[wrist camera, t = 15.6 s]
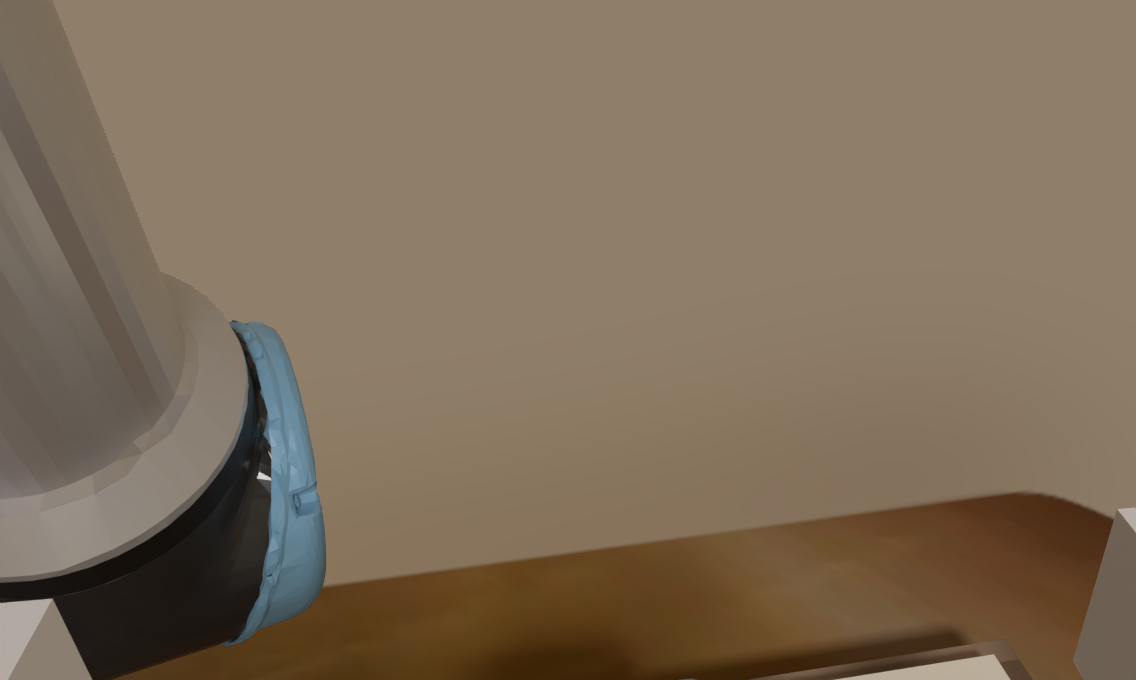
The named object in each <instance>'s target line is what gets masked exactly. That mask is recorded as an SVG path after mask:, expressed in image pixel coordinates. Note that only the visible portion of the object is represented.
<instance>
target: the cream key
mask: <svg viewBox="0 0 1136 680" xmlns="http://www.w3.org/2000/svg"><path fill="white" fill-rule="evenodd" d="M836 680H1010V678H1009V677H1008V675H1007V674H1006V672H1005V671H1004V669H1003V668H1002V666H1001V664H1000V663H999V661H998V660H997V658H996V657H995V655H994V654H993V655H986V656H980V657H974V658H967V659H961V660H955V661H949V662H942V663H936V664H930V665H924V666H917V667H911V668H905V669H899V670H892V671H886V672H880V673H873V674H867V675H861V676H855V677H848V678H842V679H836Z"/></svg>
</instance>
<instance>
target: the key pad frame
mask: <svg viewBox="0 0 1136 680" xmlns="http://www.w3.org/2000/svg"><path fill="white" fill-rule="evenodd" d="M993 654H994V655H995V657H996V658H997V660H998V661H999V663H1000V664H1001V666H1002V668H1003V669H1004V671H1005V672H1006V674H1007V675H1008V677H1009V678H1010V680H1032V678H1031V677H1030V675H1029V674H1028V672H1027V671H1026V669H1025V668H1024V666H1023V665H1022V663H1021V662H1020V660H1019V659H1018V657H1017V656H1016V654H1015V653H1014V651H1013V650H1012V648H1011V647H1010V645H1009V644H1008V642H1007V641H1006V639H1001V640H995V641H988V642H982V643H976V644H969V645H963V646H957V647H951V648H944V649H938V650H932V651H925V652H919V653H913V654H906V655H900V656H894V657H887V658H881V659H875V660H869V661H862V662H856V663H850V664H843V665H837V666H831V667H824V668H818V669H812V670H805V671H799V672H793V673H787V674H780V675H774V676H768V677H761V678H755V679H749V680H836V679H842V678H848V677H855V676H861V675H867V674H873V673H880V672H886V671H892V670H899V669H905V668H911V667H917V666H924V665H930V664H936V663H942V662H949V661H955V660H961V659H967V658H974V657H980V656H986V655H993Z"/></svg>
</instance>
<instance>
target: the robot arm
mask: <svg viewBox="0 0 1136 680" xmlns="http://www.w3.org/2000/svg"><path fill="white" fill-rule="evenodd" d="M316 486H317V481H316V472H315V461H314V455H313V450H312V445H311V440H310V435H309V431H308V426H307V421H306V416H305V412H304V408H303V404H302V400H301V396H300V392H299V388H298V385H297V381H296V377H295V374H294V371H293V368H292V365H291V361H290V358H289V355H288V353H287V350H286V348H285V345H284V343H283V341H282V339H281V338H280V336H279V335H278V333H277V332H276V330H274V329H273V328H271V327H269V326H266V325H264V324H262V323H260V322H250V323H241V322H238V321H234V320H233V321H232V322H228V321H227V320H226V318H225V317H224V315H223V314H222V312H221V311H220V309H218V308H217V307H216V306H215V305H214V304H213V303H212V302H211V301H210V300H209V299H208V298H207V297H206V296H205V295H203V294H202V293H200V292H199V291H197V290H196V289H194V288H193V287H192V286H190V285H188V284H186V283H184V282H182V281H181V280H179V279H176V278H175V277H173V276H170V275H168V274H165V273H162V272H160V271H159V268H158V265H157V263H156V260H155V258H154V255H153V253H152V250H151V248H150V245H149V243H148V240H147V238H146V235H145V233H144V231H143V228H142V225H141V223H140V220H139V217H138V215H137V212H136V210H135V207H134V205H133V202H132V200H131V198H130V195H129V192H128V190H127V187H126V185H125V182H124V180H123V177H122V175H121V172H120V170H119V167H118V165H117V162H116V159H115V157H114V154H113V152H112V150H111V147H110V145H109V142H108V140H107V137H106V134H105V132H104V129H103V127H102V124H101V122H100V119H99V117H98V114H97V112H96V109H95V107H94V104H93V102H92V99H91V96H90V94H89V91H88V89H87V86H86V84H85V81H84V79H83V76H82V74H81V71H80V69H79V66H78V64H77V61H76V59H75V56H74V54H73V51H72V49H71V46H70V44H69V41H68V38H67V36H66V33H65V31H64V28H63V26H62V24H61V21H60V18H59V16H58V13H57V11H56V8H55V6H54V3H53V1H52V0H0V680H112V679H115V678H118V677H121V676H124V675H127V674H130V673H133V672H136V671H139V670H143V669H146V668H149V667H152V666H155V665H158V664H161V663H164V662H167V661H170V660H173V659H176V658H179V657H182V656H186V655H189V654H192V653H195V652H198V651H201V650H204V649H207V648H210V647H213V646H216V645H219V644H221V645H225V646H232V645H233V644H238V643H242V642H244V640H245V639H247V640H248V639H249V638H250V637H251V636H252V635H254V634H255V632H256V631H258V630H261V629H263V628H266V627H268V626H271V625H274V624H276V623H279V622H282V621H285V620H287V619H290V618H293V617H295V616H297V615H299V614H300V613H302V612H303V611H305V610H306V609H307V608H309V607H310V606H311V605H312V603H313V602H314V601H315V600H316V598H317V597H318V595H319V593H320V591H321V589H322V586H323V582H324V578H325V571H326V544H325V530H324V522H323V515H322V507H321V504H320V500H319V496H318V494H317V492H316ZM1073 663H1074V664H1075V666H1076V668H1077V669H1078V671H1079V673H1080V674H1081V676H1082V678H1083V679H1084V680H1136V508H1124V509H1117V512H1116V515H1115V518H1114V522H1113V525H1112V529H1111V532H1110V536H1109V539H1108V542H1107V546H1106V549H1105V553H1104V556H1103V560H1102V563H1101V567H1100V570H1099V573H1098V577H1097V580H1096V584H1095V587H1094V591H1093V594H1092V597H1091V601H1090V604H1089V608H1088V611H1087V615H1086V618H1085V621H1084V625H1083V628H1082V632H1081V635H1080V639H1079V642H1078V645H1077V649H1076V652H1075V656H1074V659H1073Z"/></svg>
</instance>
